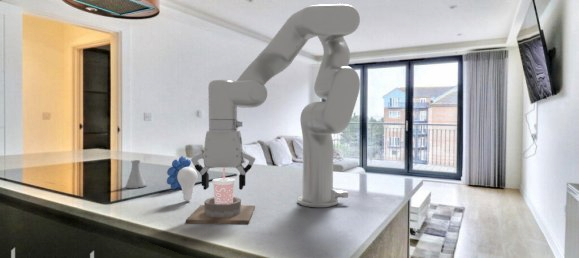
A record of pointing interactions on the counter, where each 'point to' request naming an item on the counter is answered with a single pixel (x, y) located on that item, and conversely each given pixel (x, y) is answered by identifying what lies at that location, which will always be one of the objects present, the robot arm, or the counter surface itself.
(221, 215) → the coaster board
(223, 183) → the beverage cup
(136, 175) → the flask
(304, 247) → the counter surface
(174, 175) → the grapes
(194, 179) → the lightbulb
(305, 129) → the robot arm
